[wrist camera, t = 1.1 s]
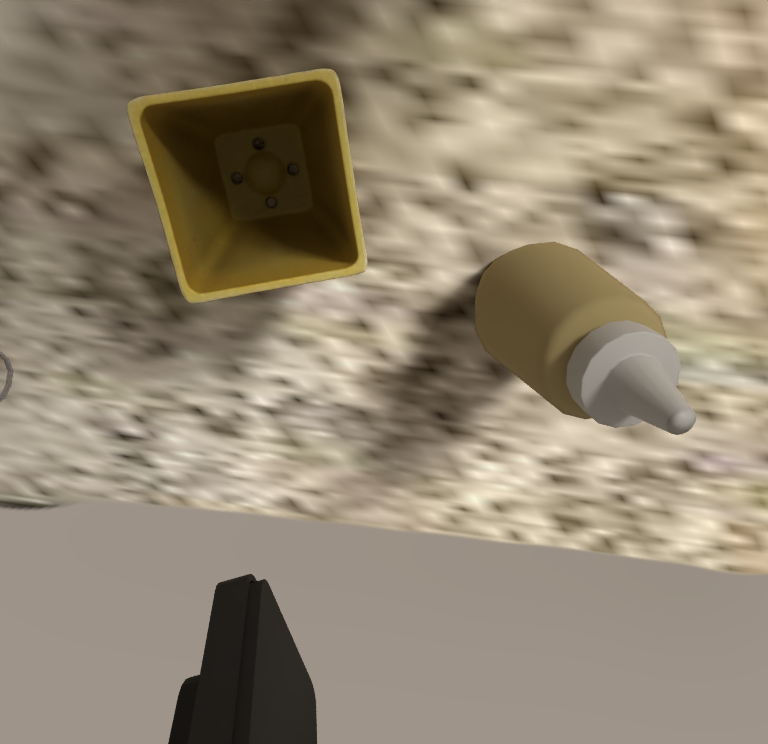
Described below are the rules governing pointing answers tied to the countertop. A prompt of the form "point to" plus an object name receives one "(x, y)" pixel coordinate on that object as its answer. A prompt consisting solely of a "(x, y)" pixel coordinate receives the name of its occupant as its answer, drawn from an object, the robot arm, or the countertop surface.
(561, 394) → the squeeze bottle
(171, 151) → the flower pot
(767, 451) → the countertop surface
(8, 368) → the coffee pot
